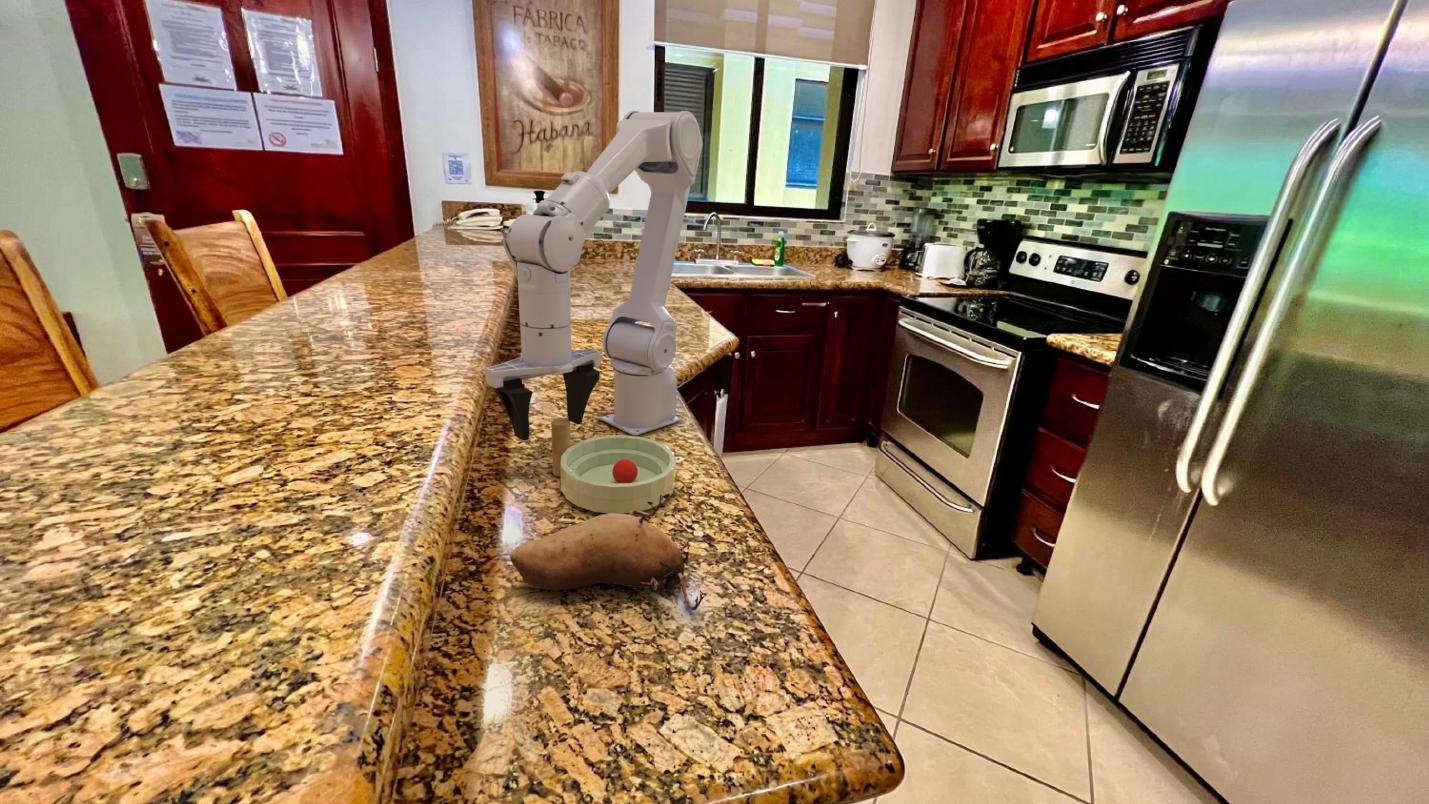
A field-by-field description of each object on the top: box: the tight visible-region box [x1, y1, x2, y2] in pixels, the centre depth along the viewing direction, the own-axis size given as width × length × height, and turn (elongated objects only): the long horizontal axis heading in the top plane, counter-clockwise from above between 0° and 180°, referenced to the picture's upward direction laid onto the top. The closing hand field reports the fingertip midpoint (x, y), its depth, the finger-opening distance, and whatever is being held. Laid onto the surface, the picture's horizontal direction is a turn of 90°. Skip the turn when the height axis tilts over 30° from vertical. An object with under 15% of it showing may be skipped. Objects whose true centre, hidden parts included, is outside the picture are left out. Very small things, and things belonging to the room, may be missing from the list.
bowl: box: [560, 434, 677, 514], centre depth 66 cm, size 13×13×4 cm
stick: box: [550, 417, 571, 478], centre depth 68 cm, size 2×2×7 cm
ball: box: [612, 460, 638, 484], centre depth 66 cm, size 3×3×3 cm
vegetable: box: [509, 494, 707, 611], centre depth 48 cm, size 16×11×10 cm
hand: (549, 429), depth 69 cm, fingers open, 7 cm apart
